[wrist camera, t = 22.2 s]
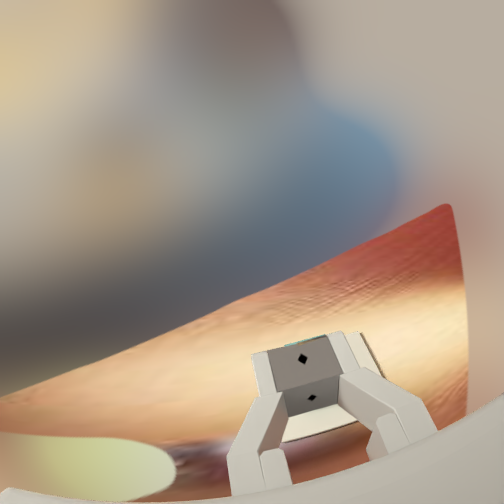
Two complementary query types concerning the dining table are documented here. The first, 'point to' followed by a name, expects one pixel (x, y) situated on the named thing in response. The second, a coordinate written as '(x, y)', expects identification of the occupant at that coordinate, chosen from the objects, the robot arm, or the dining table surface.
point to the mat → (332, 414)
